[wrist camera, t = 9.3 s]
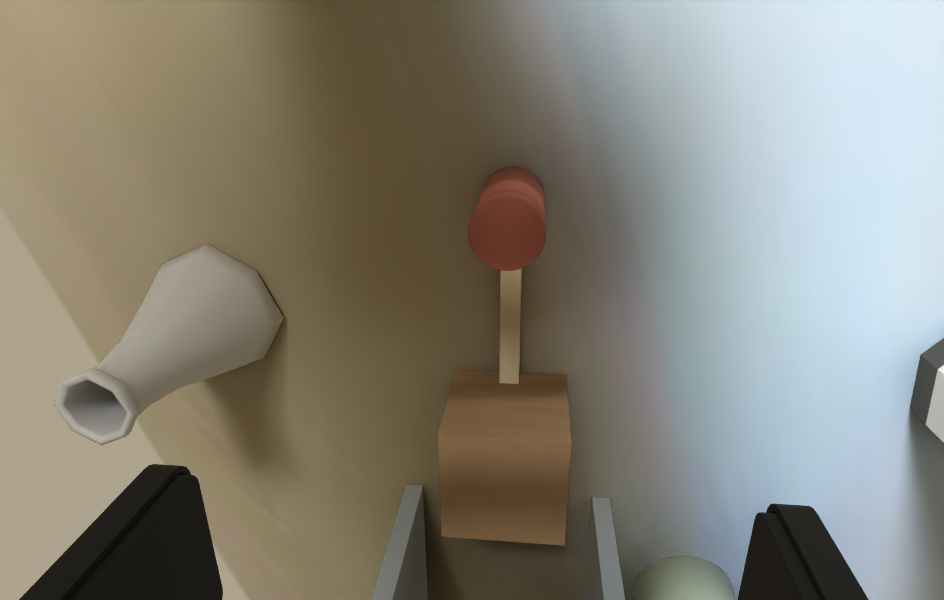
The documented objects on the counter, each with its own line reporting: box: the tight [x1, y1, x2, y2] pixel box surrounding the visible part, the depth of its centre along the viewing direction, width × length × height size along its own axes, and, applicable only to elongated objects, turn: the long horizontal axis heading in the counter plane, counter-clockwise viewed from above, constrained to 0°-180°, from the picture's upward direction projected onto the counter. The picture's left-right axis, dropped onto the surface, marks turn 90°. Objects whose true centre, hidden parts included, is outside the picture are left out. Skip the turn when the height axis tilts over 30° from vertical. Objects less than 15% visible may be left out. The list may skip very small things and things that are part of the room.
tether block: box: [438, 167, 572, 546], centre depth 29 cm, size 17×6×6 cm, turn 1°
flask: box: [53, 244, 284, 445], centre depth 28 cm, size 7×7×10 cm
